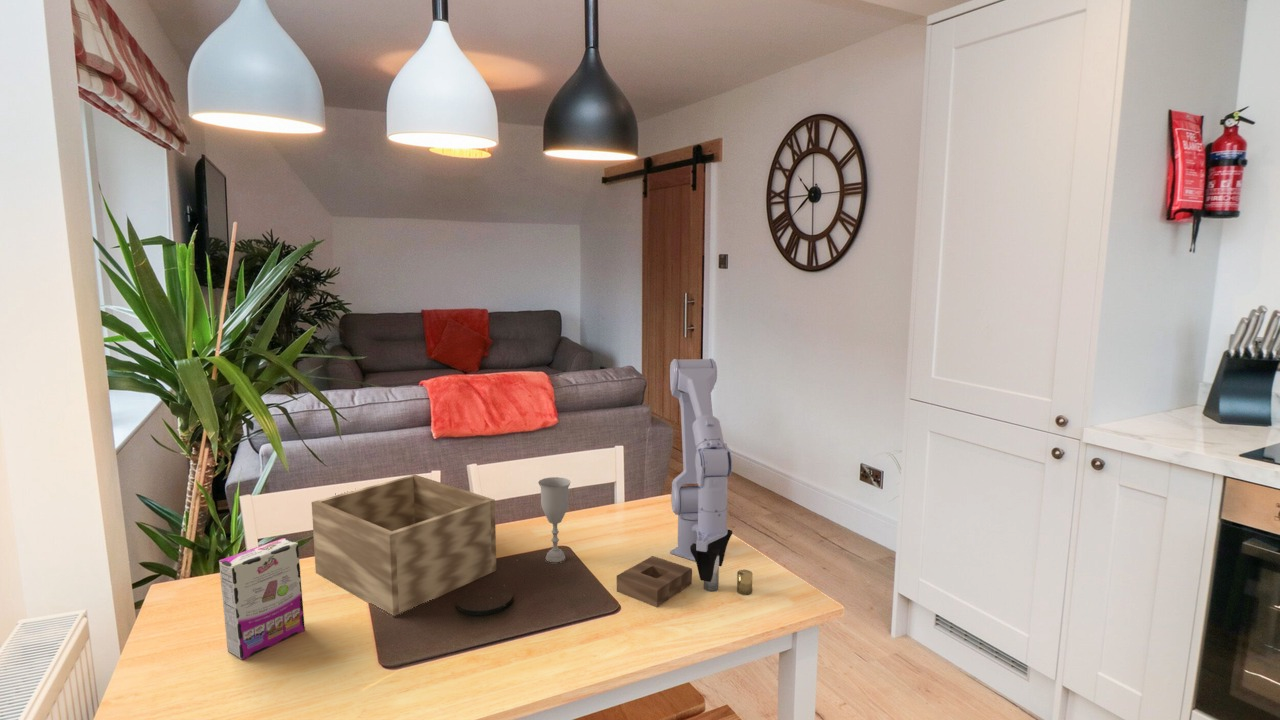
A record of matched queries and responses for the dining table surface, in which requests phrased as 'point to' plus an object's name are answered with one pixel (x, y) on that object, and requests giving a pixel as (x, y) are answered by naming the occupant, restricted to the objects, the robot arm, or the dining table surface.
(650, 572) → the walnut block
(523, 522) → the dining table surface
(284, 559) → the candy bar box
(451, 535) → the wooden crate
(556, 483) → the chalice
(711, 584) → the steel pin
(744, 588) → the brass pin
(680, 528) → the robot arm
